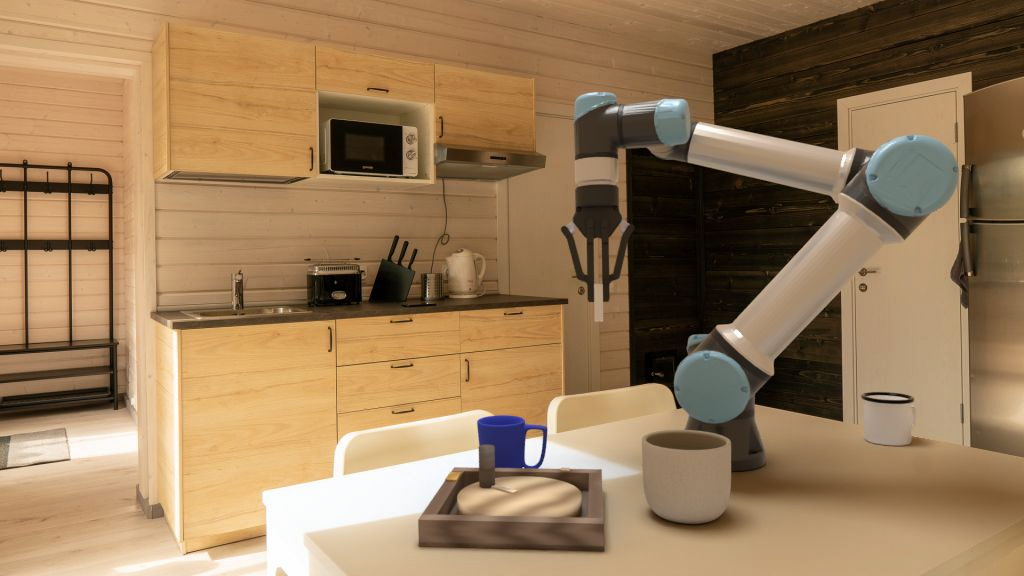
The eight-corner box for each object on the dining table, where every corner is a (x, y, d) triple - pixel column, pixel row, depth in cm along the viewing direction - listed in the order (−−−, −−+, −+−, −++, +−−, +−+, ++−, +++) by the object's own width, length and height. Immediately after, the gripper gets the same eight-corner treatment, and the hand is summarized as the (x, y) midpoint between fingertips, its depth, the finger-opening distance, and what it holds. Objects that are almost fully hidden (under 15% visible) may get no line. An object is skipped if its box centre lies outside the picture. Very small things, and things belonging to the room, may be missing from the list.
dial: (606, 507, 104) (605, 450, 103) (525, 545, 90) (524, 479, 90) (515, 484, 116) (514, 433, 115) (431, 514, 102) (430, 456, 102)
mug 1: (544, 487, 116) (543, 426, 116) (472, 484, 118) (471, 424, 118) (551, 472, 124) (550, 416, 124) (484, 470, 126) (483, 414, 126)
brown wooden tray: (602, 490, 114) (601, 467, 113) (604, 551, 90) (603, 521, 90) (454, 488, 116) (454, 465, 116) (418, 546, 92) (418, 517, 92)
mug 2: (888, 449, 135) (888, 402, 135) (850, 438, 144) (850, 393, 144) (935, 442, 139) (935, 397, 139) (895, 432, 148) (895, 389, 148)
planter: (717, 537, 94) (716, 454, 93) (629, 520, 100) (628, 444, 100) (741, 508, 104) (740, 435, 104) (660, 495, 111) (659, 426, 110)
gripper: (633, 186, 126) (635, 319, 127) (560, 188, 127) (562, 319, 128) (636, 181, 118) (638, 322, 119) (558, 184, 120) (560, 323, 121)
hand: (598, 321), depth 124 cm, fingers closed
